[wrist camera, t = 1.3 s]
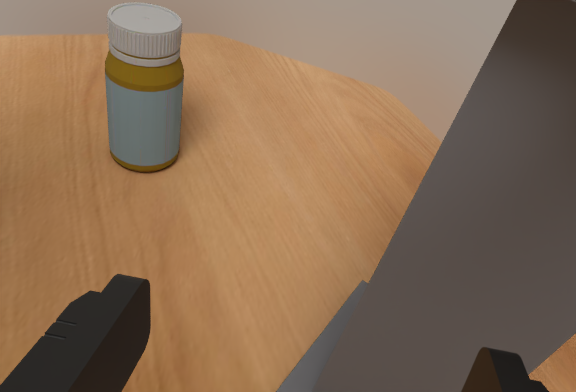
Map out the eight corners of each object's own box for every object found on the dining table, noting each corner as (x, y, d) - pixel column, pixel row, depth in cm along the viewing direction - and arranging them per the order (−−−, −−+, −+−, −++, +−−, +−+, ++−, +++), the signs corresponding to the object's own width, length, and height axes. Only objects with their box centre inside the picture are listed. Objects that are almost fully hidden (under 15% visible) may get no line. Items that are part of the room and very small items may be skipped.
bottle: (191, 157, 51) (203, 25, 41) (140, 184, 47) (139, 43, 37) (148, 127, 54) (150, -5, 44) (95, 150, 49) (83, 8, 39)
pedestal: (417, 537, 29) (1140, 73, 8) (264, 411, 33) (482, -132, 12) (480, 374, 39) (884, -33, 18) (356, 290, 42) (567, -127, 21)
